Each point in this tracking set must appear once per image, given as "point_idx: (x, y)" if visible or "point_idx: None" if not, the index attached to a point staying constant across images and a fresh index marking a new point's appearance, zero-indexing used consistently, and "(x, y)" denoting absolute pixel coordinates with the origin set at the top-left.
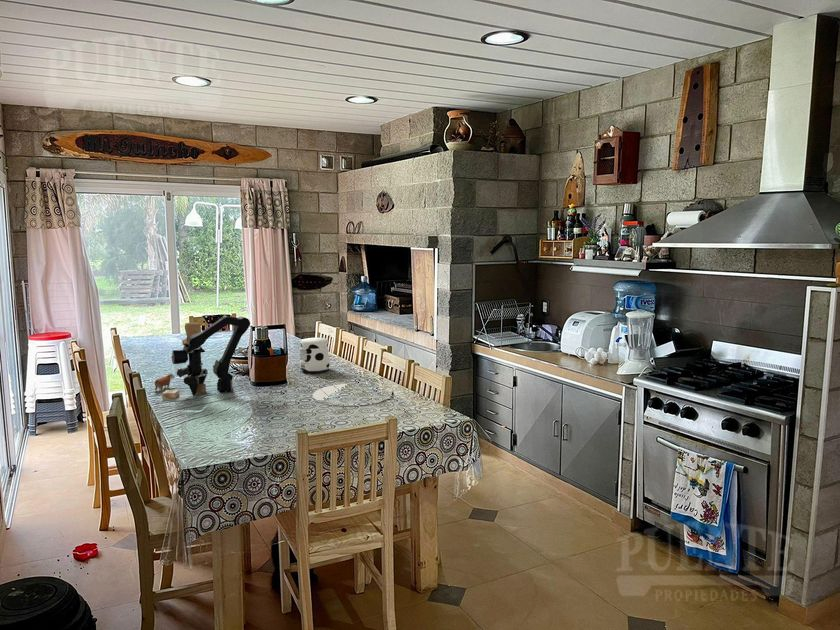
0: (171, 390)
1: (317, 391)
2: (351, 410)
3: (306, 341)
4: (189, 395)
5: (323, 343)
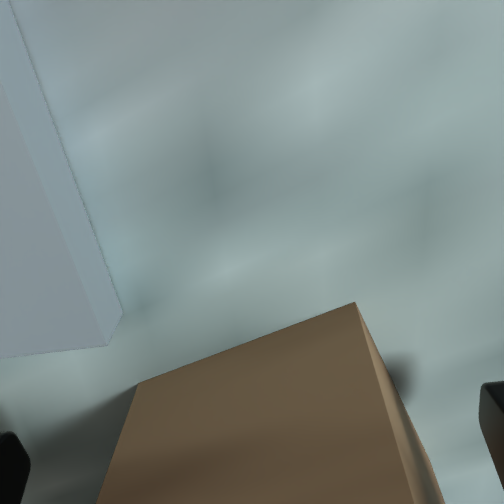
0: None
1: None
2: None
3: None
4: (10, 338)
5: None
